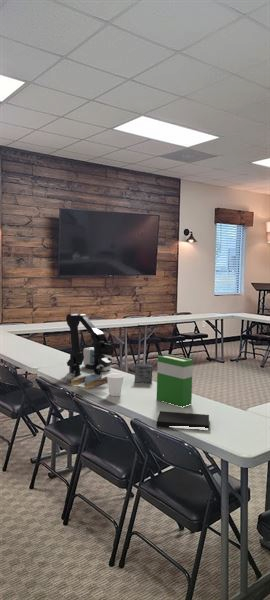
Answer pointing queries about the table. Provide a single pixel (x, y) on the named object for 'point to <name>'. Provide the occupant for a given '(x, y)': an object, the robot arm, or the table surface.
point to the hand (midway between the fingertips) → (98, 378)
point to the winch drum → (69, 377)
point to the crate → (92, 377)
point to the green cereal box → (174, 380)
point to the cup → (115, 383)
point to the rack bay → (89, 384)
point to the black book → (182, 419)
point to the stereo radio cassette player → (89, 358)
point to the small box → (143, 373)
